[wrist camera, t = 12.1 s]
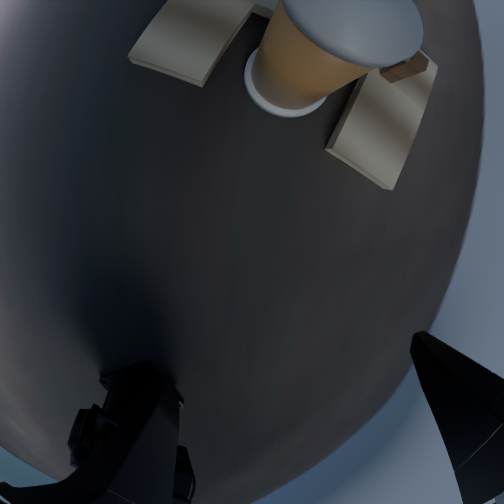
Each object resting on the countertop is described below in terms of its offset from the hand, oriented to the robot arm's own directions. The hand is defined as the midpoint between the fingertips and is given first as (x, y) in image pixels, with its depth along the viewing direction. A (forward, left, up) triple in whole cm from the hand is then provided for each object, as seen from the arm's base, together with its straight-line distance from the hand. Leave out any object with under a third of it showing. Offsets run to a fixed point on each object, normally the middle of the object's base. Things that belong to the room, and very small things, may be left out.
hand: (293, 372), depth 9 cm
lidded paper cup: (+8, +11, -13) cm, 19 cm away
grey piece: (+11, +14, -13) cm, 21 cm away
